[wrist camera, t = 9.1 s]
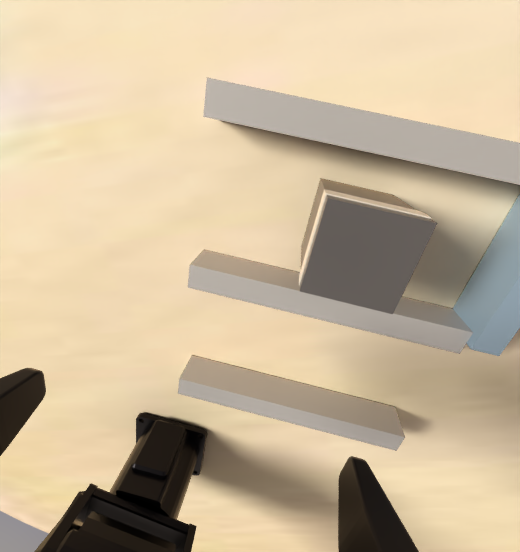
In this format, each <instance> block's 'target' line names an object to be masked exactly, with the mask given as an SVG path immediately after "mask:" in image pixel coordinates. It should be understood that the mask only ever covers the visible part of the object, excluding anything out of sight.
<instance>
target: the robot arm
mask: <svg viewBox="0 0 520 552" xmlns="http://www.w3.org/2000/svg"><path fill="white" fill-rule="evenodd" d="M45 393H46V387H45V380H44V374H43V372H42V371H40V370H36V369H33V368H25V369H22V370H19V371H17V372H15V373H12V374H10V375H7V376H5V377H2V378H0V456H1V454H2V453H3V452H4V451H5V450H6V448H7V447H8V446H9V444H10V443H11V442H12V440H13V439H14V438H15V436H16V435H17V434H18V432H19V431H20V430H21V428H22V427H23V426H24V424H25V423H26V422H27V420H28V419H29V417H30V416H31V415H32V413H33V412H34V411H35V409H36V408H37V407H38V405H39V404H40V403H41V401H42V400H43V398H44V396H45ZM206 438H207V432H206V431H205V430H204V429H201V428H197V427H193V426H189V425H186V424H182V423H178V422H174V421H171V420H167V419H163V418H159V417H156V416H152V415H148V414H144V413H140V414H139V415H138V417H137V418H136V445H135V447H134V449H133V451H132V453H131V454H130V456H129V458H128V460H127V462H126V463H125V465H124V467H123V469H122V470H121V472H120V474H119V476H118V478H117V479H116V481H115V483H114V485H113V487H112V488H111V490H110V492H107V491H104V490H102V489H100V488H97V487H98V486H96V485H94V484H90V485H89V487H88V488H87V490H86V491H82V492H79V493H78V494H77V496H76V497H75V499H74V500H73V502H72V504H71V505H70V507H69V508H68V510H67V511H66V513H65V514H64V515H63V517H62V518H61V520H60V521H59V522H58V523H57V525H56V526H55V527H54V528H53V529H52V531H51V532H50V533H49V534H48V536H47V537H46V538H45V540H44V541H43V542H42V543H41V544H40V545H39V547H38V548H37V549H36V550H35V552H191V549H192V544H193V540H194V535H195V531H196V526H195V525H192V524H189V525H188V524H186V523H183V522H181V521H179V520H177V517H178V514H179V512H180V509H181V506H182V503H183V500H184V497H185V494H186V491H187V488H188V485H189V482H190V479H191V476H192V475H199V474H200V471H201V467H202V461H203V455H204V449H205V444H206ZM338 547H339V552H419V551H418V549H417V548H416V546H415V544H414V542H413V541H412V539H411V537H410V536H409V534H408V532H407V530H406V529H405V527H404V525H403V524H402V522H401V520H400V518H399V517H398V515H397V513H396V512H395V510H394V508H393V506H392V505H391V503H390V501H389V500H388V498H387V496H386V494H385V493H384V491H383V489H382V488H381V486H380V484H379V482H378V481H377V479H376V477H375V475H374V474H373V472H372V470H371V469H370V467H369V465H368V464H367V462H366V461H365V460H363V459H360V458H357V457H353V456H351V457H349V458H348V460H347V462H346V464H345V465H344V467H343V469H342V471H341V473H340V476H339V516H338Z"/></svg>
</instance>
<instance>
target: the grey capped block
mask: <svg viewBox="0 0 520 552" xmlns="http://www.w3.org/2000/svg"><path fill="white" fill-rule="evenodd" d="M431 218H432V217H430V216H428V215H427V214H425V213H424V212H422V211H417V210H416V209H414V208H413V207H411V206H409V205H408V204H406V203H405V202H403V201H402V200H400V199H399V198H397V197H395V196H394V195H392V194H387V193H383V192H378V191H374V190H370V189H365V188H361V187H357V186H352V185H348V184H344V183H339V182H335V181H330V180H326V179H322V178H320V182H319V186H318V189H317V193H316V196H315V200H314V203H313V207H312V210H311V214H310V218H309V221H308V225H307V228H306V232H305V235H304V239H303V242H302V249H301V270H300V274H299V285H300V292H304V293H308V294H312V295H316V296H320V297H324V298H328V299H332V300H336V301H340V302H344V303H348V304H352V305H356V306H360V307H365V308H369V309H373V310H377V311H381V312H385V313H389V314H393V313H394V311H395V309H396V307H397V305H398V303H399V301H400V299H401V297H402V294H403V292H404V290H405V288H406V286H407V284H408V282H409V280H410V278H411V276H412V274H413V272H414V270H415V268H416V266H417V264H418V262H419V260H420V258H421V256H422V253H423V251H424V249H425V247H426V245H427V243H428V241H429V239H430V237H431V235H432V233H433V231H434V229H435V227H436V225H437V223H436V222H434V221H433V220H431Z"/></svg>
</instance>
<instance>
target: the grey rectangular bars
mask: <svg viewBox="0 0 520 552" xmlns="http://www.w3.org/2000/svg"><path fill="white" fill-rule="evenodd" d="M203 117H207V118H212V119H216V120H221V121H226V122H230V123H235V124H240V125H244V126H249V127H254V128H258V129H263V130H267V131H272V132H277V133H281V134H286V135H291V136H295V137H300V138H305V139H309V140H314V141H319V142H323V143H328V144H332V145H337V146H342V147H346V148H351V149H356V150H360V151H365V152H370V153H374V154H379V155H383V156H388V157H393V158H397V159H402V160H407V161H411V162H416V163H421V164H425V165H430V166H435V167H439V168H444V169H448V170H453V171H458V172H462V173H467V174H472V175H476V176H481V177H486V178H490V179H495V180H499V181H504V182H509V183H513V184H518V185H520V143H518V142H513V141H508V140H503V139H498V138H494V137H489V136H484V135H479V134H475V133H470V132H465V131H460V130H455V129H451V128H446V127H441V126H436V125H431V124H427V123H422V122H417V121H412V120H408V119H403V118H398V117H393V116H388V115H384V114H379V113H374V112H369V111H364V110H360V109H355V108H350V107H345V106H341V105H336V104H331V103H326V102H321V101H317V100H312V99H307V98H302V97H298V96H293V95H288V94H283V93H278V92H274V91H269V90H264V89H259V88H254V87H250V86H245V85H240V84H235V83H231V82H226V81H221V80H216V79H211V78H207V84H206V95H205V106H204V116H203ZM299 274H300V272H296V271H292V270H288V269H283V268H279V267H275V266H271V265H266V264H262V263H258V262H254V261H250V260H245V259H241V258H237V257H233V256H228V255H224V254H220V253H216V252H212V251H207V250H203V251H202V252H201V253H200V254H199V255H198V256H197V258H196V259H195V260H194V261H193V262H192V263H191V264H190V269H189V280H188V288H192V289H197V290H201V291H205V292H209V293H213V294H217V295H221V296H225V297H229V298H233V299H238V300H242V301H246V302H250V303H254V304H258V305H262V306H266V307H270V308H274V309H279V310H283V311H287V312H291V313H295V314H299V315H303V316H307V317H311V318H315V319H320V320H324V321H328V322H332V323H336V324H340V325H344V326H348V327H352V328H356V329H361V330H365V331H369V332H373V333H377V334H381V335H385V336H389V337H393V338H397V339H402V340H406V341H410V342H414V343H418V344H422V345H426V346H430V347H434V348H438V349H443V350H447V351H451V352H455V353H459V354H460V352H461V351H462V349H463V348H464V346H465V345H466V344H467V345H468V346H469V347H470V349H472V350H476V351H480V352H484V353H488V354H492V355H497V356H500V354H501V353H502V351H503V350H504V349H505V347H506V346H507V345H508V343H509V342H510V341H511V339H512V338H513V337H514V335H515V334H516V332H517V331H518V330H519V328H520V194H519V196H518V198H517V199H516V201H515V203H514V204H513V206H512V208H511V209H510V211H509V213H508V215H507V216H506V218H505V220H504V221H503V223H502V225H501V227H500V228H499V230H498V232H497V233H496V235H495V237H494V239H493V240H492V242H491V244H490V245H489V247H488V249H487V251H486V252H485V254H484V256H483V257H482V259H481V261H480V263H479V264H478V266H477V268H476V269H475V271H474V273H473V275H472V276H471V278H470V280H469V281H468V283H467V285H466V287H465V288H464V290H463V292H462V293H461V295H460V297H459V298H458V300H457V302H456V304H455V305H454V307H453V309H452V308H448V307H444V306H439V305H435V304H431V303H427V302H422V301H418V300H414V299H410V298H406V297H401V299H400V301H399V303H398V305H397V307H396V309H395V311H394V313H393V314H389V313H385V312H381V311H377V310H373V309H369V308H365V307H360V306H356V305H352V304H348V303H344V302H340V301H336V300H332V299H328V298H324V297H320V296H316V295H312V294H308V293H304V292H300V285H299ZM178 394H181V395H185V396H189V397H193V398H197V399H201V400H204V401H208V402H212V403H216V404H220V405H224V406H227V407H231V408H235V409H239V410H243V411H246V412H250V413H254V414H258V415H262V416H266V417H269V418H273V419H277V420H281V421H285V422H288V423H292V424H296V425H300V426H304V427H308V428H311V429H315V430H319V431H323V432H327V433H331V434H334V435H338V436H342V437H346V438H350V439H353V440H357V441H361V442H365V443H369V444H373V445H376V446H380V447H384V448H388V449H392V450H395V451H397V449H398V448H399V446H400V445H401V443H402V441H403V440H404V438H405V435H404V432H403V429H402V426H401V423H400V420H399V417H398V414H397V411H396V408H395V407H393V406H390V405H386V404H382V403H378V402H374V401H370V400H366V399H362V398H358V397H354V396H350V395H346V394H342V393H339V392H335V391H331V390H327V389H323V388H319V387H315V386H311V385H307V384H303V383H299V382H295V381H291V380H288V379H284V378H280V377H276V376H272V375H268V374H264V373H260V372H256V371H252V370H248V369H244V368H240V367H236V366H233V365H229V364H225V363H221V362H217V361H213V360H209V359H205V358H201V357H197V356H193V355H192V356H191V358H190V360H189V362H188V364H187V365H186V367H185V369H184V371H183V373H182V375H181V377H180V379H179V389H178Z"/></svg>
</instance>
